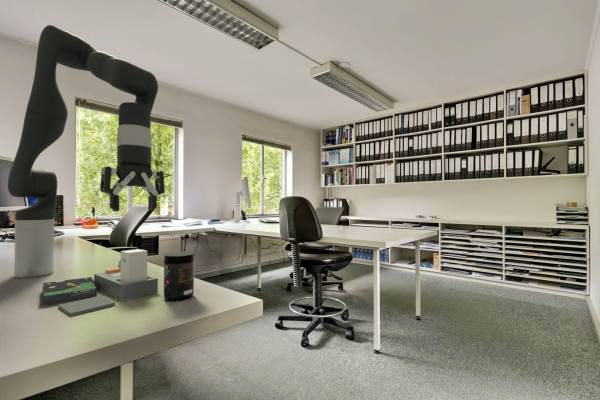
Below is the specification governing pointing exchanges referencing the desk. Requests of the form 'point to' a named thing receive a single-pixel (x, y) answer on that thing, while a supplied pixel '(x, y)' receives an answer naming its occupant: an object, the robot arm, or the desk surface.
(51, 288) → the disk drive
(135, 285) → the desk organizer
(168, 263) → the supplement container
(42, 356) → the desk surface
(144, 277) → the charger
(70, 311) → the mat
